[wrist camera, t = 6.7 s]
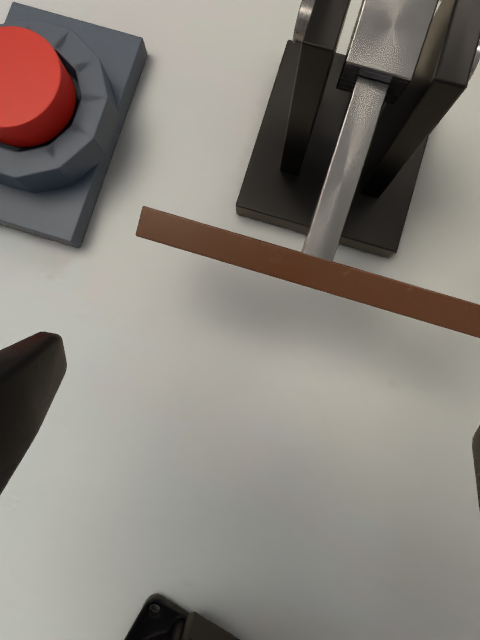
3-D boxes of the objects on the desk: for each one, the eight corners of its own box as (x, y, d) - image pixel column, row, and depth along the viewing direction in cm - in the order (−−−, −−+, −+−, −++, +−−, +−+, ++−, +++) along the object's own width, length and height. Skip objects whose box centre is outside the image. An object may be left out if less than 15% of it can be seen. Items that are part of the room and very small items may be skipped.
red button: (56, 159, 20) (39, 140, 19) (-38, 132, 21) (-64, 110, 19) (89, 68, 21) (75, 41, 19) (-3, 42, 21) (-26, 13, 19)
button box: (84, 250, 23) (60, 232, 20) (-54, 208, 23) (-98, 185, 20) (152, 55, 24) (139, 10, 21) (19, 17, 24) (-13, -32, 21)
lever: (466, 331, 17) (495, 343, 15) (148, 237, 18) (129, 235, 16) (568, 65, 16) (619, 32, 13) (216, -31, 16) (205, -79, 14)
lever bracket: (388, 258, 22) (499, 175, 13) (235, 214, 23) (229, 99, 13) (433, 96, 23) (569, -98, 14) (285, 55, 24) (314, -164, 14)
